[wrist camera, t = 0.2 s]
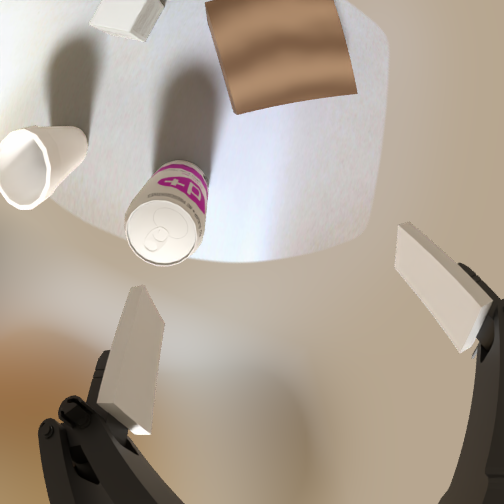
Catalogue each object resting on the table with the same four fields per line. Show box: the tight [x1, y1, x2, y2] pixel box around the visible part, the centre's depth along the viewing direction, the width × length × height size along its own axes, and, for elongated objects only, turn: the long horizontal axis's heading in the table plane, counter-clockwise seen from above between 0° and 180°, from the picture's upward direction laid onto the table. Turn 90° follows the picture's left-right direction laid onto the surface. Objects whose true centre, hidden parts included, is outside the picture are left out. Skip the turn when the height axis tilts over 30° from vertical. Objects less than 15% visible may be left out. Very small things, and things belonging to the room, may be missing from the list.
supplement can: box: [124, 160, 209, 266], centre depth 32 cm, size 8×8×15 cm
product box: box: [89, 0, 164, 42], centre depth 21 cm, size 6×6×7 cm
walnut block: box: [205, 0, 357, 115], centre depth 26 cm, size 14×14×8 cm
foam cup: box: [0, 125, 88, 210], centre depth 27 cm, size 10×9×13 cm
